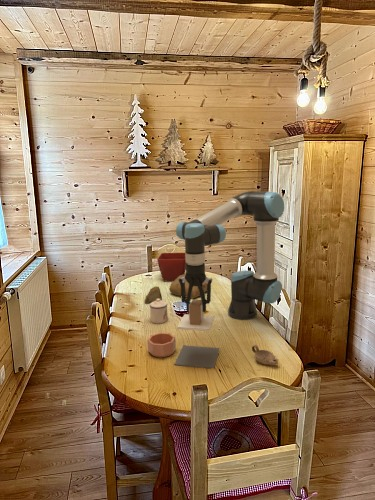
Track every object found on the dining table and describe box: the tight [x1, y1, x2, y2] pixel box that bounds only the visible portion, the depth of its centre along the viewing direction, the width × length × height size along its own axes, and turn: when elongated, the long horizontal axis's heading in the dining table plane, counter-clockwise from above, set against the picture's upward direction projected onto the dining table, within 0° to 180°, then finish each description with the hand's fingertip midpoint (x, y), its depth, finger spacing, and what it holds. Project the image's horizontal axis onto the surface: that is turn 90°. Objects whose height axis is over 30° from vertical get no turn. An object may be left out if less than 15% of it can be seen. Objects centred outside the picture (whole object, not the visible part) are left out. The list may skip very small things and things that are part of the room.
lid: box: [176, 298, 216, 332], centre depth 150 cm, size 13×13×9 cm
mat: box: [174, 344, 220, 369], centre depth 154 cm, size 16×16×1 cm
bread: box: [168, 273, 207, 299], centre depth 232 cm, size 24×21×12 cm
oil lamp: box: [251, 344, 279, 366], centre depth 149 cm, size 13×8×5 cm, turn 32°
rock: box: [144, 286, 163, 304], centre depth 218 cm, size 11×9×10 cm
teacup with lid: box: [149, 299, 168, 324], centre depth 192 cm, size 12×9×12 cm
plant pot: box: [157, 252, 187, 282], centre depth 259 cm, size 19×19×17 cm
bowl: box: [147, 332, 177, 358], centre depth 159 cm, size 11×11×6 cm
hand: (196, 318), depth 150 cm, fingers closed on lid, 4 cm apart
